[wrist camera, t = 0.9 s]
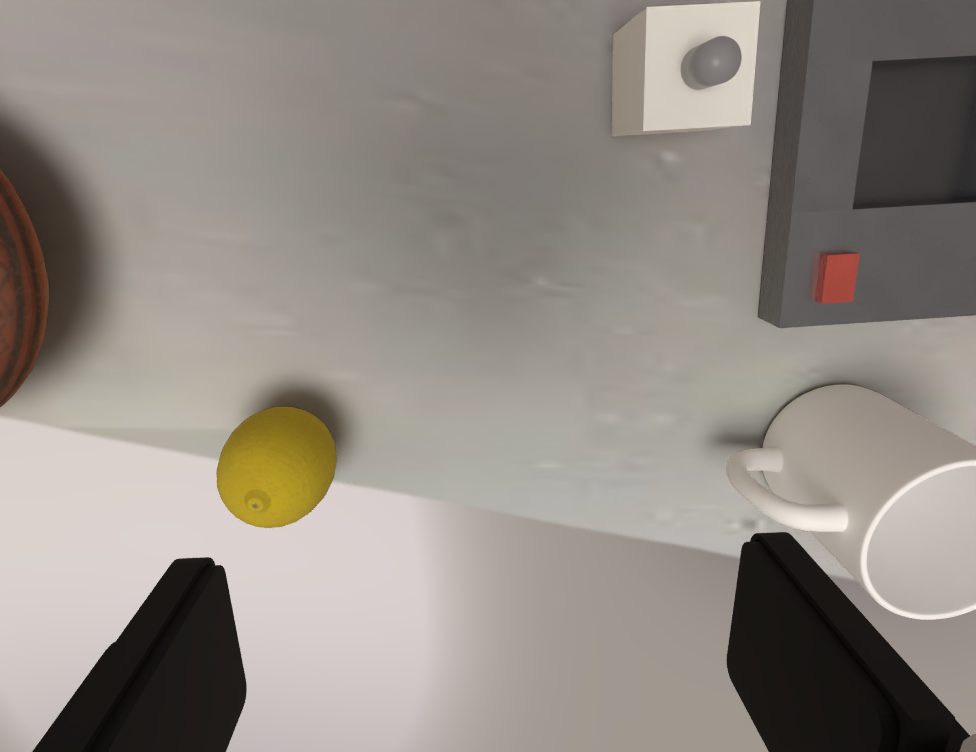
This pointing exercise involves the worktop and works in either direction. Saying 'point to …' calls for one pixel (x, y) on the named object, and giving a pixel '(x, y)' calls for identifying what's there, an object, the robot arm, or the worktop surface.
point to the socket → (873, 164)
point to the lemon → (276, 467)
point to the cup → (873, 495)
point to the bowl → (19, 292)
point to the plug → (685, 69)
